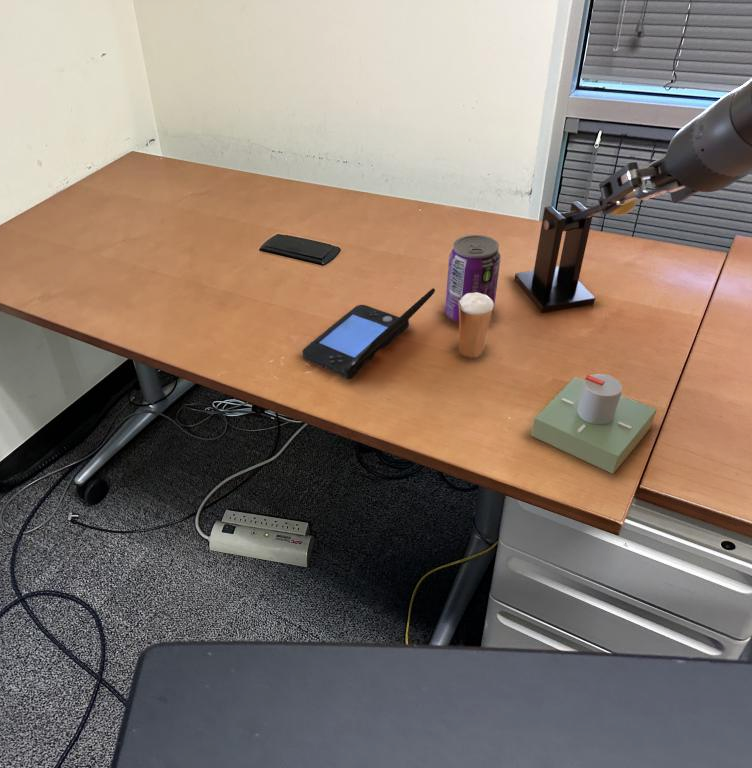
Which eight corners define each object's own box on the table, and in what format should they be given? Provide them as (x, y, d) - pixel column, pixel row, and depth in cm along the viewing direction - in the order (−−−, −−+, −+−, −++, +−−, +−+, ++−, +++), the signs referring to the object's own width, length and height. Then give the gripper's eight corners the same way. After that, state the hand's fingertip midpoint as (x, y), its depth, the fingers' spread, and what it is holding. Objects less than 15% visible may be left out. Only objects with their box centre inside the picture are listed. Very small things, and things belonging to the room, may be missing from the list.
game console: (359, 309, 110) (359, 260, 104) (435, 337, 102) (439, 285, 96) (298, 359, 102) (293, 308, 96) (374, 393, 94) (375, 340, 88)
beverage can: (495, 327, 102) (505, 257, 94) (445, 328, 103) (451, 258, 96) (490, 301, 107) (499, 232, 100) (443, 302, 109) (448, 233, 101)
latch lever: (645, 209, 84) (641, 179, 84) (616, 214, 84) (612, 184, 84) (575, 233, 101) (571, 209, 101) (551, 237, 101) (547, 213, 101)
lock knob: (620, 411, 82) (629, 380, 79) (604, 429, 80) (613, 398, 77) (586, 397, 84) (594, 367, 81) (570, 415, 82) (578, 384, 79)
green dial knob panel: (650, 427, 83) (657, 408, 81) (612, 474, 78) (619, 455, 76) (570, 394, 89) (574, 375, 87) (530, 435, 85) (534, 417, 83)
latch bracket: (593, 304, 103) (614, 221, 95) (541, 313, 103) (557, 230, 94) (562, 271, 111) (578, 191, 102) (514, 279, 111) (526, 200, 102)
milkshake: (443, 348, 100) (447, 290, 93) (475, 338, 101) (482, 279, 94) (460, 365, 96) (466, 306, 90) (494, 355, 97) (502, 295, 91)
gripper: (670, 186, 65) (587, 240, 82) (816, 162, 66) (704, 221, 82) (652, 113, 66) (573, 180, 82) (796, 89, 66) (689, 161, 82)
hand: (638, 200), depth 82 cm, fingers open, 8 cm apart
